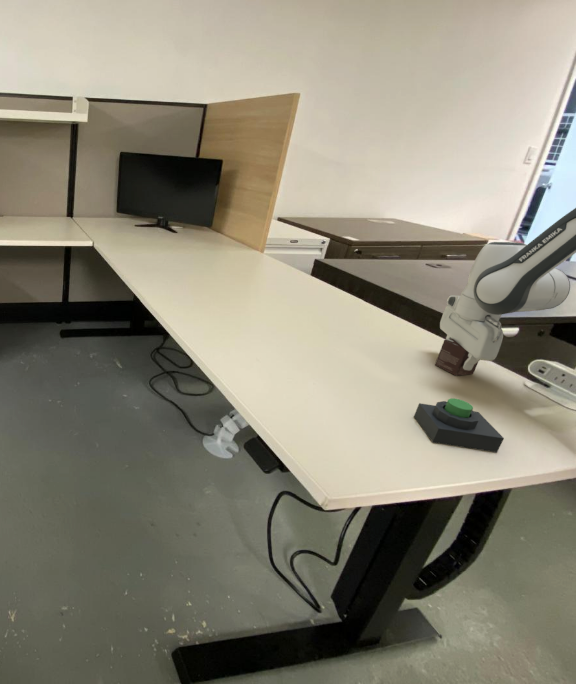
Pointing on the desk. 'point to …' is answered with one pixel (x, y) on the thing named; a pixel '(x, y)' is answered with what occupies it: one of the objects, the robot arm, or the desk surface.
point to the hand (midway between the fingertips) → (456, 360)
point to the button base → (457, 428)
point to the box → (453, 358)
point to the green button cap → (458, 408)
